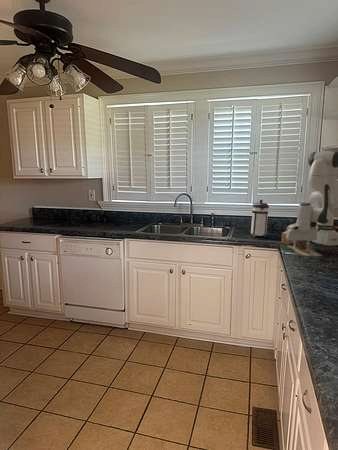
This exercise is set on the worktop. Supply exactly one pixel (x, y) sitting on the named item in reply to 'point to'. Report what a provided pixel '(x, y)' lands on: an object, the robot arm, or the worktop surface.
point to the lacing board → (306, 252)
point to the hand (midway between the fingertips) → (300, 246)
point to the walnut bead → (301, 245)
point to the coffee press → (259, 219)
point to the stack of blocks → (284, 239)
